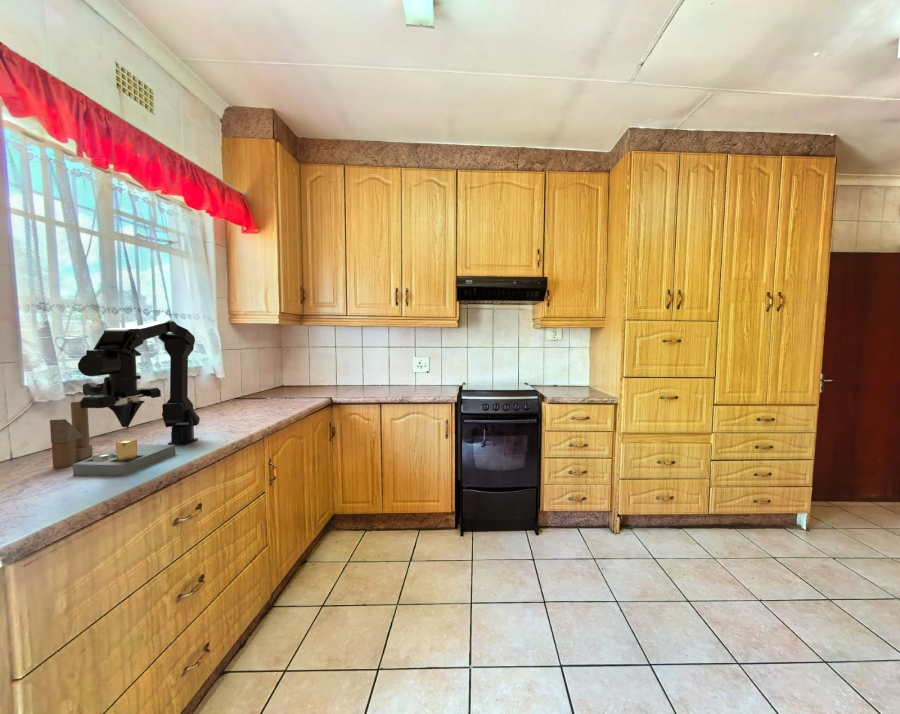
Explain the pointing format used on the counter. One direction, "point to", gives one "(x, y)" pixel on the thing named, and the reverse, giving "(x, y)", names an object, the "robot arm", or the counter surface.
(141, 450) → the jig
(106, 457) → the chrome sphere
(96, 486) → the counter surface
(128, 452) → the brass cylinder
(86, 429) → the wooden block
